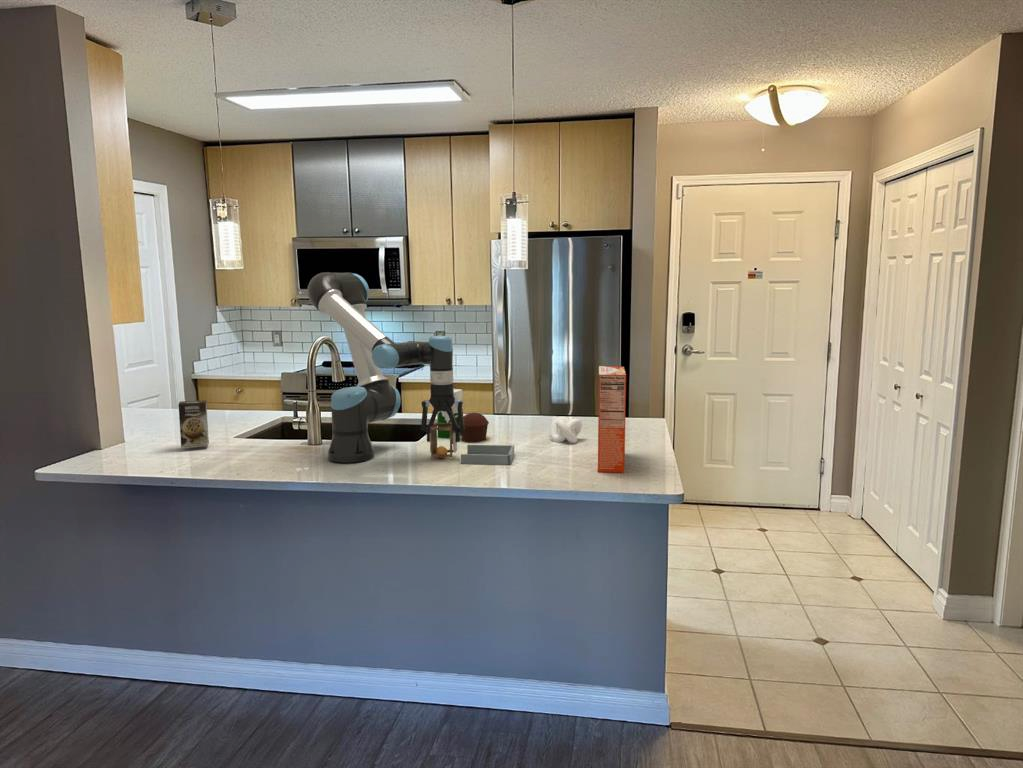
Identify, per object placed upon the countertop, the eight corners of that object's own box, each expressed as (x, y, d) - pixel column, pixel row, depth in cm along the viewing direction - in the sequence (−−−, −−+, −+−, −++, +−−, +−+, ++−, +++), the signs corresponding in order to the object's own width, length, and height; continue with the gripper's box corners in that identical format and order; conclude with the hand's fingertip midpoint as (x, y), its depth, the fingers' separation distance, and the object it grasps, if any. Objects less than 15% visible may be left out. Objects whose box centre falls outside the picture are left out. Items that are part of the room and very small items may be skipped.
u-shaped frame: (460, 463, 217) (460, 454, 216) (467, 453, 231) (467, 444, 231) (510, 464, 215) (510, 455, 215) (514, 453, 229) (514, 445, 229)
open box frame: (431, 457, 221) (430, 427, 220) (435, 451, 228) (434, 422, 227) (452, 457, 220) (451, 427, 219) (456, 452, 227) (455, 423, 226)
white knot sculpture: (570, 437, 255) (570, 414, 254) (590, 443, 245) (590, 419, 244) (545, 441, 249) (545, 417, 248) (565, 447, 239) (565, 422, 238)
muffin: (484, 444, 245) (484, 417, 243) (455, 442, 247) (454, 416, 245) (492, 437, 256) (491, 411, 255) (463, 436, 258) (463, 410, 257)
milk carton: (443, 433, 263) (442, 382, 260) (465, 435, 260) (464, 383, 257) (434, 438, 255) (433, 385, 252) (456, 439, 252) (455, 386, 249)
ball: (431, 454, 223) (438, 445, 222) (434, 451, 227) (441, 442, 226) (441, 461, 223) (448, 452, 222) (444, 458, 227) (450, 449, 226)
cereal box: (597, 453, 229) (599, 366, 225) (622, 454, 228) (623, 366, 224) (597, 471, 207) (598, 374, 203) (624, 472, 206) (626, 374, 202)
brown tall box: (180, 448, 240) (177, 403, 238) (182, 444, 246) (179, 401, 244) (208, 446, 244) (205, 402, 242) (209, 442, 250) (206, 399, 248)
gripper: (409, 384, 218) (411, 453, 221) (470, 384, 216) (471, 454, 219) (414, 381, 226) (416, 448, 229) (473, 381, 224) (475, 449, 227)
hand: (443, 451), depth 224 cm, fingers closed on open box frame, 7 cm apart
